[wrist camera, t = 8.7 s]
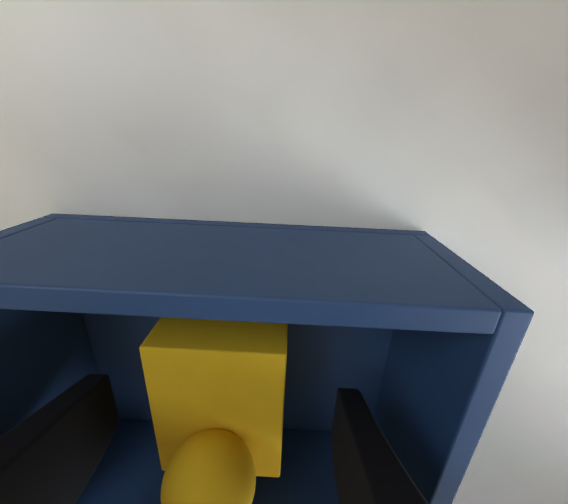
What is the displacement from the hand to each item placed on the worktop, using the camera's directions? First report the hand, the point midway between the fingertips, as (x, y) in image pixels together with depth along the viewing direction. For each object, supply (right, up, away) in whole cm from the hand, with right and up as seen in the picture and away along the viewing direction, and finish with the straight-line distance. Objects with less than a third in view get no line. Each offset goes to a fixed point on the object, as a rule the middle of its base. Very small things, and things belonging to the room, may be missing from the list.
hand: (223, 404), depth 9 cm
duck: (0, +1, +3) cm, 3 cm away
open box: (0, +1, +3) cm, 3 cm away
